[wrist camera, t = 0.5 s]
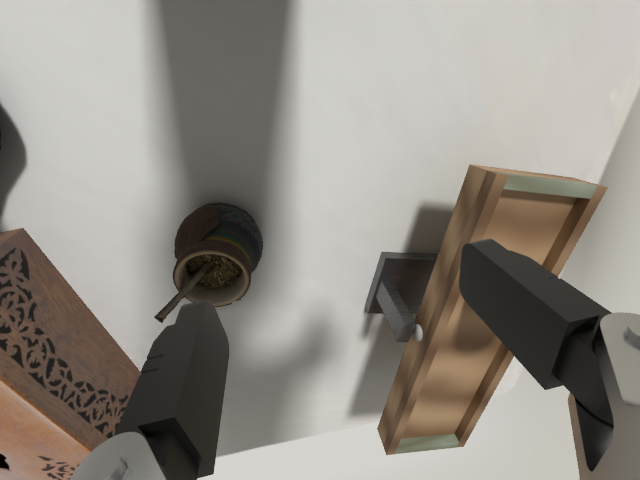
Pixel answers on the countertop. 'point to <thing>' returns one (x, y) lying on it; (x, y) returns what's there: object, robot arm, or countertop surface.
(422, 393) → the beam
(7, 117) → the countertop surface
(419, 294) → the pivot stand
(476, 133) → the countertop surface
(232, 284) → the mate gourd
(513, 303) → the robot arm
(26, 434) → the tissue box cover
